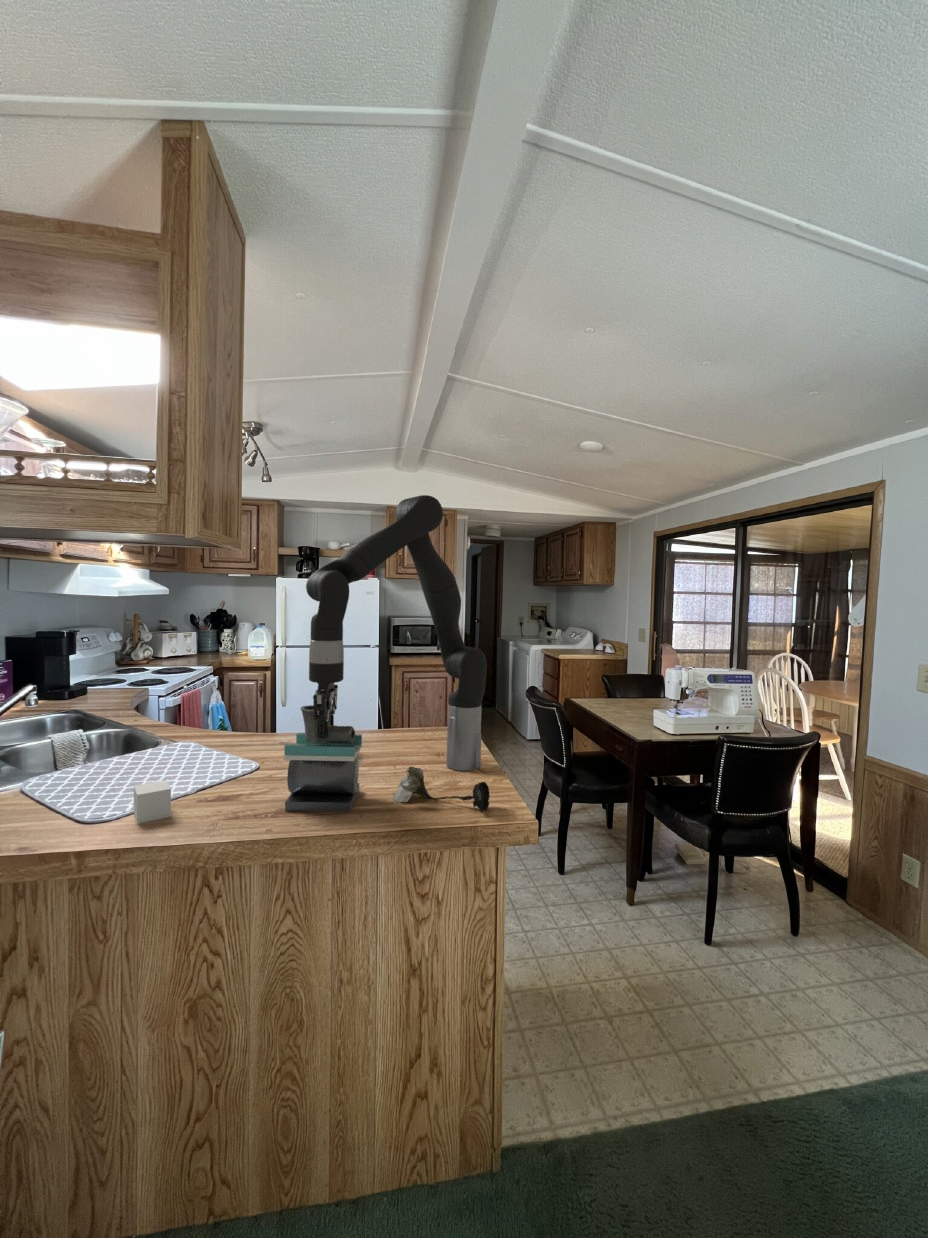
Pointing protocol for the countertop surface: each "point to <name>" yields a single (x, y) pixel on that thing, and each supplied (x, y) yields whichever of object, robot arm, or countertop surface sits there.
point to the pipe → (334, 732)
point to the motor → (322, 775)
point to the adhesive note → (152, 801)
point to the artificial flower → (416, 786)
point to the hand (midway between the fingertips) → (325, 734)
